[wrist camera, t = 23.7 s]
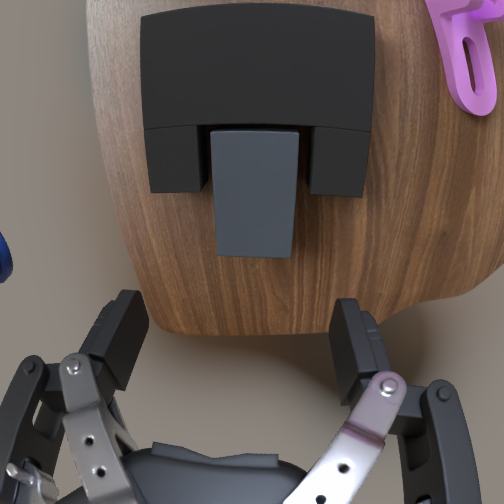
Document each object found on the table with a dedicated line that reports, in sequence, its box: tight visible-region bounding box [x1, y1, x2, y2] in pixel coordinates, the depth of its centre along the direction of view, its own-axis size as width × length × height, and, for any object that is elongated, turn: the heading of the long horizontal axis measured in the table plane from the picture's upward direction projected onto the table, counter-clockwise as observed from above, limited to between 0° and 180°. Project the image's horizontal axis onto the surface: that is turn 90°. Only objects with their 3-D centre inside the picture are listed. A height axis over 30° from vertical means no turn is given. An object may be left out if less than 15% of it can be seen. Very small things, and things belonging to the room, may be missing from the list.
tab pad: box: [210, 126, 299, 258], centre depth 22 cm, size 6×10×3 cm, turn 0°
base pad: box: [140, 3, 375, 198], centre depth 18 cm, size 16×14×3 cm
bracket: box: [425, 0, 504, 116], centre depth 11 cm, size 13×6×7 cm, turn 16°
